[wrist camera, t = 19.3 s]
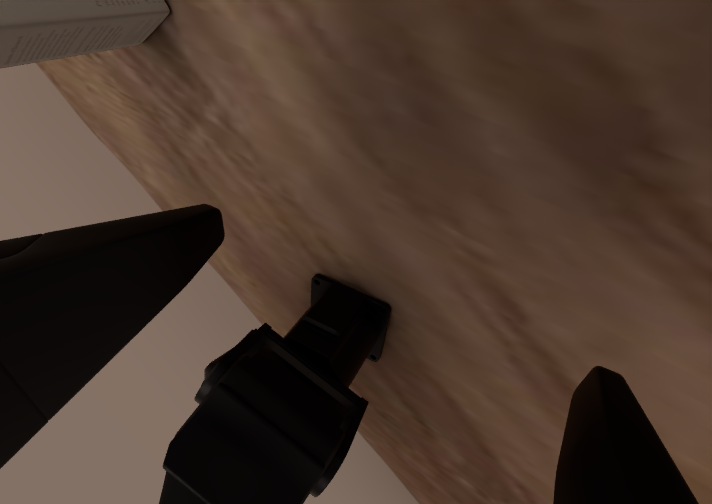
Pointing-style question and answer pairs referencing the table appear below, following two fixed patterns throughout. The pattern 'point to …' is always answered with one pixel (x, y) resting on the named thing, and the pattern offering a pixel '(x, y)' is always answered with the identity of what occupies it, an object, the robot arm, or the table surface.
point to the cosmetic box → (73, 27)
